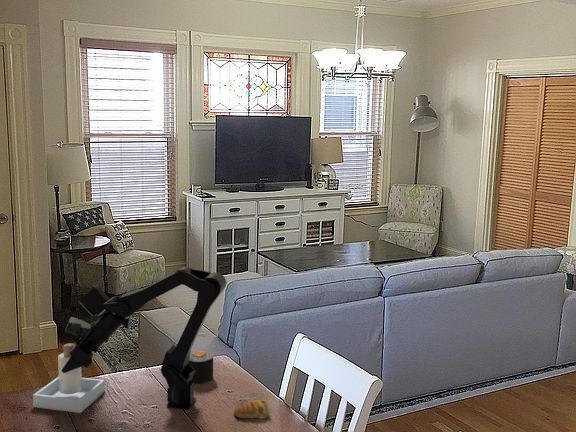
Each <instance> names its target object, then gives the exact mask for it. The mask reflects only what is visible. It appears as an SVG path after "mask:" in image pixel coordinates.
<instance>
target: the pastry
mask: <svg viewBox="0 0 576 432" xmlns="http://www.w3.org/2000/svg"><path fill="white" fill-rule="evenodd" d="M268 405H269V404H268V402H267V400H266V399H261V400H257V399H255V400H250V401H247V402H245V403H242V404H240V405H238V406H236V407H235V409H234V410H233V414H234V416H236V417H237V418H238V417H239V419H246V418H260V417H267V416H268V417H269V416H270V408H269V406H268ZM268 417H267V418H268ZM260 419H261V418H260Z"/></svg>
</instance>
